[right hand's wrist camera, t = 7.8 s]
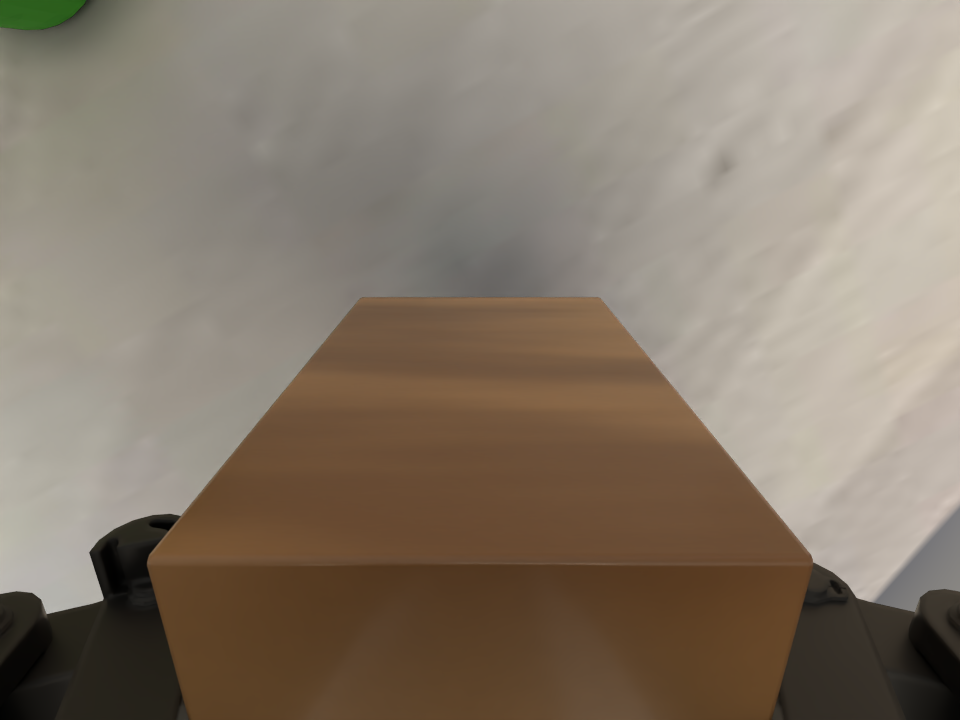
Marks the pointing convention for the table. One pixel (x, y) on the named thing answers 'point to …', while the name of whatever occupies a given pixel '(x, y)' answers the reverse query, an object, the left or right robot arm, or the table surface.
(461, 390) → the box
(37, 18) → the potted flower
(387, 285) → the table surface
